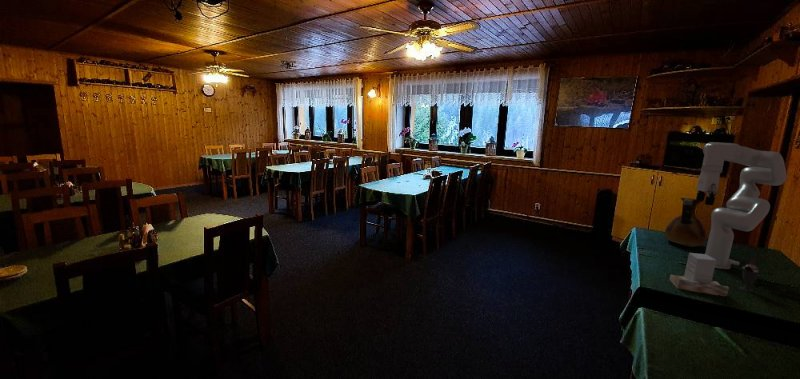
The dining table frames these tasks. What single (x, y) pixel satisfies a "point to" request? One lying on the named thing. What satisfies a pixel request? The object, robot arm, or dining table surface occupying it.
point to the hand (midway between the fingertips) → (704, 202)
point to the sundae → (749, 275)
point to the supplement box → (700, 268)
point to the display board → (699, 286)
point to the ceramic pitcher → (686, 226)
